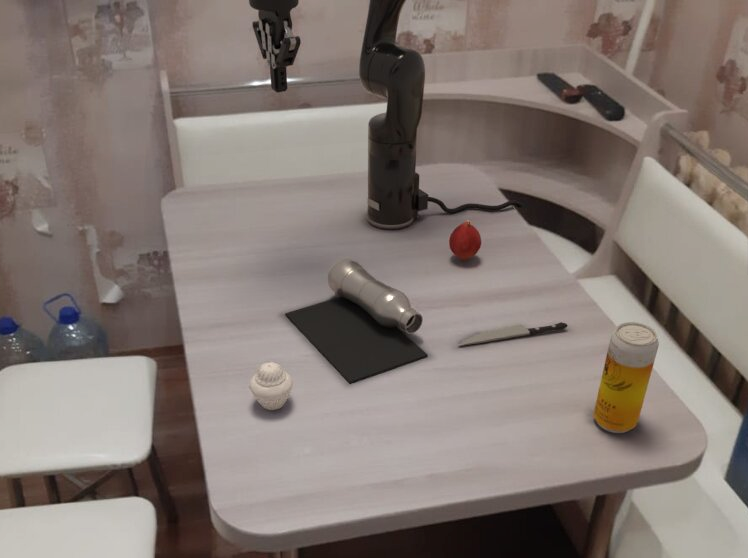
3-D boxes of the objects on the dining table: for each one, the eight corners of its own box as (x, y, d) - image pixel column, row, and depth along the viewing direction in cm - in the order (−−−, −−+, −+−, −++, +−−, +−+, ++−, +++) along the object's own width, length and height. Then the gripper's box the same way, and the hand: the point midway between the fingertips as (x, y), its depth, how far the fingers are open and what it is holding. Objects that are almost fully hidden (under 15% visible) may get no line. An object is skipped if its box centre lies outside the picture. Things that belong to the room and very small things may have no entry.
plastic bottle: (345, 291, 146) (420, 343, 133) (317, 287, 141) (392, 340, 129) (358, 257, 143) (435, 307, 131) (330, 252, 139) (407, 303, 126)
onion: (443, 264, 152) (446, 224, 147) (453, 250, 156) (456, 210, 151) (474, 269, 150) (478, 229, 145) (483, 255, 154) (487, 216, 149)
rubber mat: (357, 293, 144) (357, 291, 144) (427, 356, 129) (427, 354, 129) (285, 315, 138) (285, 313, 138) (349, 383, 123) (349, 381, 123)
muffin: (275, 385, 123) (272, 346, 119) (302, 403, 120) (300, 364, 115) (242, 403, 120) (238, 364, 115) (269, 422, 116) (266, 383, 112)
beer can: (587, 409, 119) (606, 321, 109) (628, 407, 119) (651, 319, 110) (600, 436, 114) (621, 347, 105) (642, 434, 114) (667, 345, 105)
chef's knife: (451, 338, 133) (457, 347, 131) (451, 331, 132) (457, 341, 130) (560, 321, 137) (568, 329, 134) (561, 314, 136) (569, 323, 134)
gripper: (315, -23, 120) (319, 98, 131) (275, -39, 129) (282, 75, 140) (268, -17, 117) (276, 106, 128) (231, -34, 126) (241, 82, 137)
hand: (279, 90), depth 134 cm, fingers closed
